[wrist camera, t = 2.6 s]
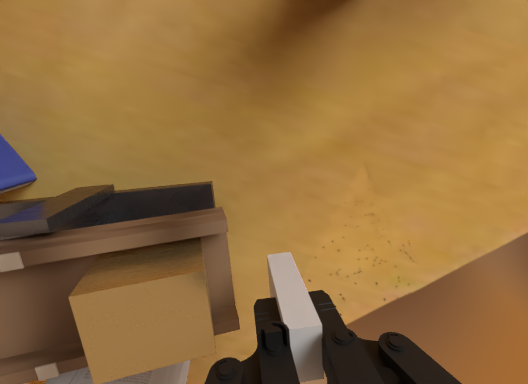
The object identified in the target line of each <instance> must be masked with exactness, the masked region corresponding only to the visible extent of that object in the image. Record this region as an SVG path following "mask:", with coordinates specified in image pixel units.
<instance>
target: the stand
mask: <svg viewBox="0 0 528 384" xmlns="http://www.w3.org/2000/svg"><path fill="white" fill-rule="evenodd" d="M212 208H215V200H214V193H213V185H212V181H210V182H200V183H190V184H179V185H169V186H159V187H149V188H139V189H129V190H119V191H114V186H113V184H111V185H101V186H90V187H80V188H75V189H73V190H71V191H68V192H66V193H63V194H61V195H59V196H56V197H48V198H38V199H28V200H18V201H8V202H0V240H4V239H11V238H18V237H24V236H31V235H35V234H39V233H51V232H58V231H65V230H71V229H78V228H85V227H92V226H98V225H105V224H112V223H118V222H125V221H132V220H139V219H145V218H152V217H159V216H165V215H172V214H179V213H186V212H192V211H199V210H206V209H212Z"/></svg>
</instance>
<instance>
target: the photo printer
mask: <svg viewBox="0 0 528 384" xmlns="http://www.w3.org/2000/svg"><path fill="white" fill-rule="evenodd" d="M190 361H191V360H188V361H184V362H181V363H177V364H173V365H169V366H165V367H162V368H158V369H154V370H150V371H146V372H143V373H139V374H135V375H131V376H127V377H124V378H120V379H116V380H112V381H109V382H105V383H101V384H186V382H187V377H188V372H189V367H190ZM45 384H94V383H93V379H92V376H91V373H90V369H89V367H86V368H82V369H78V370H74V371H70V372H66V373H62V374H59V376H58V377H54V378H50V379H48V380H47V381H46V383H45Z"/></svg>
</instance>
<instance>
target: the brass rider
mask: <svg viewBox="0 0 528 384" xmlns="http://www.w3.org/2000/svg"><path fill="white" fill-rule="evenodd" d="M68 298H69V301H70V305H71V308H72V311H73V315H74V318H75V322H76V325H77V328H78V332H79V335H80V339H81V342H82V345H83V349H84V352H85V356H86V359H87V362H88V366H89V369H90V373H91V376H92V379H93V383H94V384H101V383H105V382H109V381H112V380H116V379H120V378H124V377H127V376H131V375H135V374H139V373H143V372H146V371H150V370H154V369H158V368H162V367H165V366H169V365H173V364H177V363H181V362H184V361H188V360H192V359H196V358H199V357H203V356H207V355H211V354H215V353H216V347H215V338H214V329H213V320H212V311H211V302H210V295H209V289H208V282H207V275H206V268H205V261H204V255H203V248H202V241H201V237H195V238H189V239H183V240H177V241H172V242H166V243H160V244H154V245H148V246H142V247H136V248H130V249H124V250H118V251H113V252H107V253H101V254H99V255H98V256H97V258H96V259H95V261H94V262H93V263H92V265H91V266H90V268H89V269H88V270H87V272H86V273H85V275H84V276H83V277H82V279H81V280H80V282H79V283H78V284H77V286H76V287H75V289H74V290H73V291H72V293H71V294H70V296H69V297H68Z"/></svg>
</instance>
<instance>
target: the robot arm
mask: <svg viewBox="0 0 528 384" xmlns="http://www.w3.org/2000/svg"><path fill="white" fill-rule="evenodd" d="M267 262H268V274H269V285H270V294H271V298H265V299H258V300H257V301H256V303H255V305H254V314H255V324H256V333H257V343H258V345H257V349H256V351H255V352H254V354H253V355H252V356H251V357H249V358H247V359H246V360H244V361H241V362H240V361H239V360H237V359H235V358H231V357H229V358H223V359H221V360H219V361H217V362H216V363H215V364H214V365H213V366H212V367H211V369H210V371H209V373H208V376H207V379H206V382H205V384H300V382H305V381H311V380H317V379H324V371H325V374H326V377H327V384H461V383H460V382H459V381H458V380H457V379H456V378H454V377H453V376H452V375H451V374H450V373H448V372H447V371H446V370H445V369H444V368H443V367H441V366H440V365H439V364H438V363H437V362H435V361H434V360H433V359H432V358H431V357H430V356H429V355H427V354H426V353H425V352H424V351H422V349H420V348H419V347H418V346H417V345H416V344H415V343H413V342H412V341H411V340H410V339H408V338H407V337H405V336H404V335H402V334H399V333H395V332H387V333H384V334H382V335H381V336H380V338H379V340H378V341H371V340H364V339H361V338H358V337H357V335H356V334H355V333H354V332H353V331H351V330H349V329H347V327H346V326H345V324H344V322H343V320H342V318H341V316H340V315H339V313H338V311H337V309H336V307H335V306H334V304H333V302H332V300H331V298H330V296H329V295H328V294H326V293H325V292H324V291H322V290H319V291H312V292H308V291H307V289H306V287H305V284H304V282H303V280H302V278H301V275H300V273H299V271H298V268H297V266H296V264H295V262H294V259H293V257H292V255H291V252H286V253H278V254H270V255H267Z"/></svg>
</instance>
